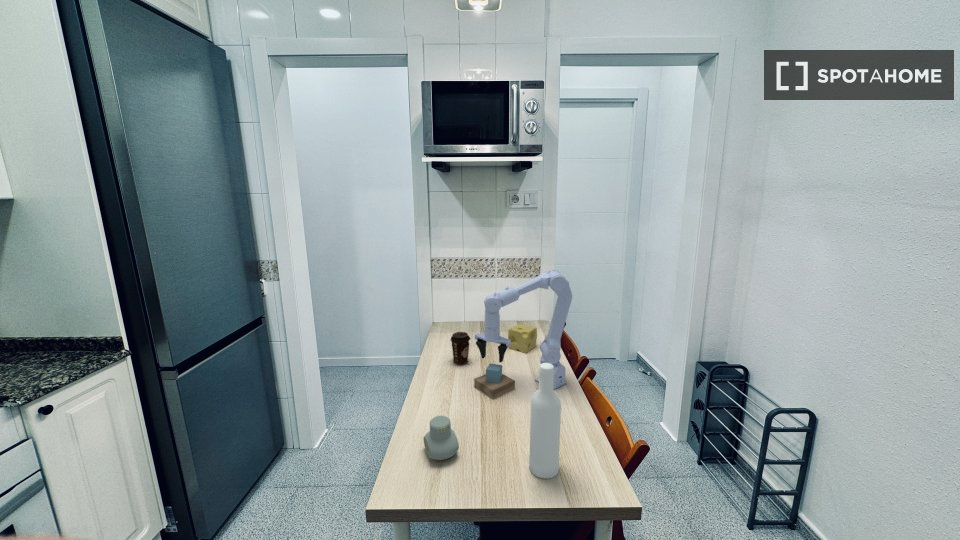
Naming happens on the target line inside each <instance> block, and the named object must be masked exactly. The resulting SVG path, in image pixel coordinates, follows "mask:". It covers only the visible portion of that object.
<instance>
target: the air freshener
mask: <svg viewBox="0 0 960 540" xmlns="http://www.w3.org/2000/svg"><path fill="white" fill-rule="evenodd" d="M451 423H452V422H451V419H450V418H449V417H447V416H446V415H436V416H434V417H433V418H431V420H430V421H429V431H428V432H426V433H425V435H424V436H423V445H424V448H425V452H426V455H427V457H428V458H430V459H432V460H435V461H442V460H447V459H450V458H451V457H453V456H454V455H455V454H456V453H457V452H458V450H459V448H460V447H459V441H458V437H457V434H456V433H455V431H454V430H453V429H452V428H451V427H452V426H451V425H452V424H451Z"/></svg>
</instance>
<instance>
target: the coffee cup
mask: <svg viewBox="0 0 960 540" xmlns="http://www.w3.org/2000/svg"><path fill="white" fill-rule="evenodd" d="M450 341H451V349H452V358H453V359H452V360H453V364H454V365H457V366H464V365H466V364H468V362H469V351H470V341H471V337H470V335H469V334H468V333H467V332H466V331H456V332H454V333H452V336H451V338H450Z"/></svg>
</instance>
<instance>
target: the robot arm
mask: <svg viewBox="0 0 960 540" xmlns="http://www.w3.org/2000/svg"><path fill="white" fill-rule="evenodd" d="M539 288H540V289H544V290H549V288H550V289H551V290H552V291H553V292H554V293H555V294H556V296H557V299H556V303H555V306H554V310H553V314H552V317H551V322H550V324H549V328H548V332H547V334H546V335H545V336H544V339H543V341H542V342H541V343H540V345H539V350H540V352H541V356H540V360H539V361H540V362H539V363H540V364H542V363H550V364H552V365H553V366H554V383H553V390H557V389H558V388H560V387H562V386H563V385H566V384H567V381H566V367H565V366H564V364H562V363H561V362H560V360H561V358H562V357H561V356H562V355H561V348H562V346H561V345H562V344H561V338H562V335H563V332H564V329H565V325H566V322H567V317H568V314H569V311H570V307H571V304H572V301H573V293H572V290H571V286H570V282H569V281H568V280H567V278H566V277H565V276H564V275H562V274H561V272H559V271H558V270H555V269H550V270H548V271H547V272H543V273H541V274H539V275H538V276H535V277H534V278H532V279H530V280H528V281H526V282H524V283H522V284H520V285H518V286H517V287H515V286H512V285H511V286H509V285H507V286H505V287H504V289H502V290H501V291H498V292H493V294H489V295H486V297H485V299H484V301H483V303H484V308H485V310H484V333H478V332H477V333H475V334H474V340H476V342H475V345H476V347H477V348H478V350H479V352H480V355H481V359H485V358H486V357H487V356H486V355H487V342H488V343H494V344H499V345H498V346H497V349H498V363H501V364H502V363H503V362H504V359H505V358H504V357H505V356H506V355H505V354H506V351H507V350H508V349H509V348H508V346H509V345H510V344H511V340H509V339H508V338H507V337H506V338H505V337H503V336H501V335H500V334H501V333H500V332H501V331H500V330H501V329H500V328H501V327H500V326H501V323H500V322H501V318H500V310H501V308H504V307H506V306H508V305H510V304H514V302H516V301H518V300H519V298H520V296H522V295H525V294H527V293H529V292H532V291H534V290H537V289H539ZM540 364H539V365H540ZM534 380H535V381H536V382H537V383H539V377H536V378H535V379H534Z"/></svg>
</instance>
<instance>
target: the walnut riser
mask: <svg viewBox="0 0 960 540" xmlns="http://www.w3.org/2000/svg"><path fill="white" fill-rule="evenodd" d="M473 381H474V382H473V383H474V385H473V386H474V388H475V389H477V390H478V391H479V392H481V393H482V394H484V396H487V397H489V398H490V399H492V400H494V399H497V398H499V397H502V396H503V395H505V394H508V393H510V392H513V391H514V390H516V380H514V379H512V377H509V376H507V375H505V374H504V373H502V378H501V380H500V382H499V383H492V382H486V373H485V374H483V375H480V376H478V377H475V378H474V379H473Z"/></svg>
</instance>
